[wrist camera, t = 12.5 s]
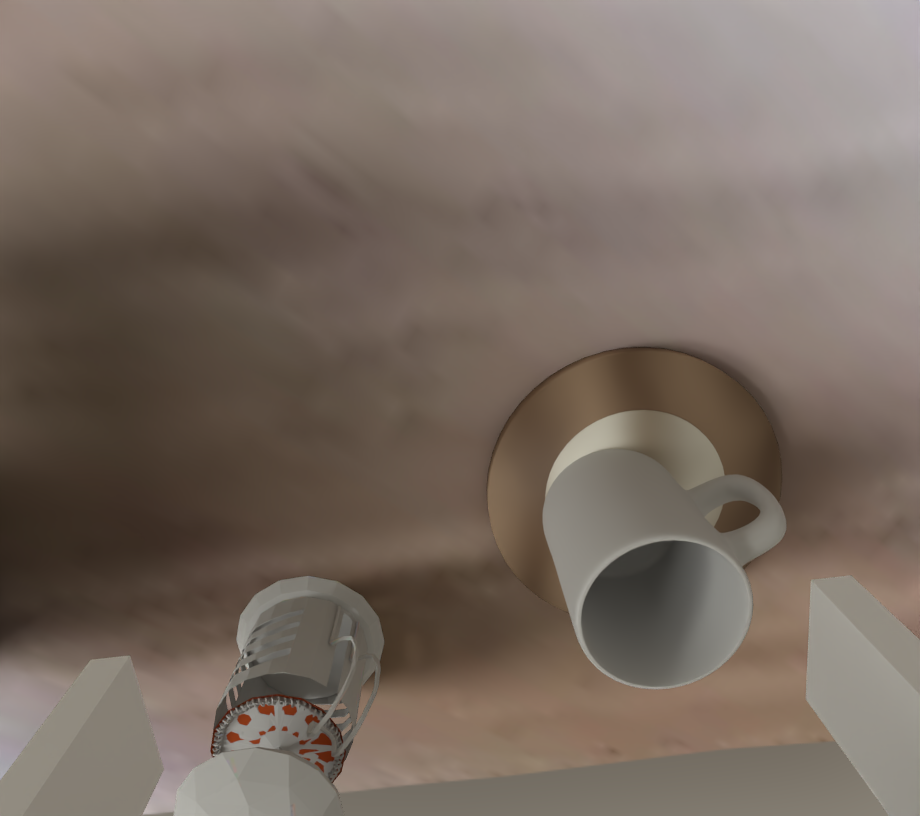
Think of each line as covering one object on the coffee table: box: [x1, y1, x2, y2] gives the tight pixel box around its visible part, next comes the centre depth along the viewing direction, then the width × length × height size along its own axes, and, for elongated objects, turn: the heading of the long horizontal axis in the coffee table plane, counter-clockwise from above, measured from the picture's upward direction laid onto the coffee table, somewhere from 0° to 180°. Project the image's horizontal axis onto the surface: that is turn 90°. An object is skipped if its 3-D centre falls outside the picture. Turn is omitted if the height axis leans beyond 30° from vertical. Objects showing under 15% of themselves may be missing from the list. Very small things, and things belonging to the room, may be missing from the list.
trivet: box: [487, 347, 782, 613], centre depth 43 cm, size 18×18×3 cm
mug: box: [543, 449, 786, 689], centre depth 37 cm, size 12×8×11 cm
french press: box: [174, 576, 384, 816], centre depth 35 cm, size 10×12×25 cm
